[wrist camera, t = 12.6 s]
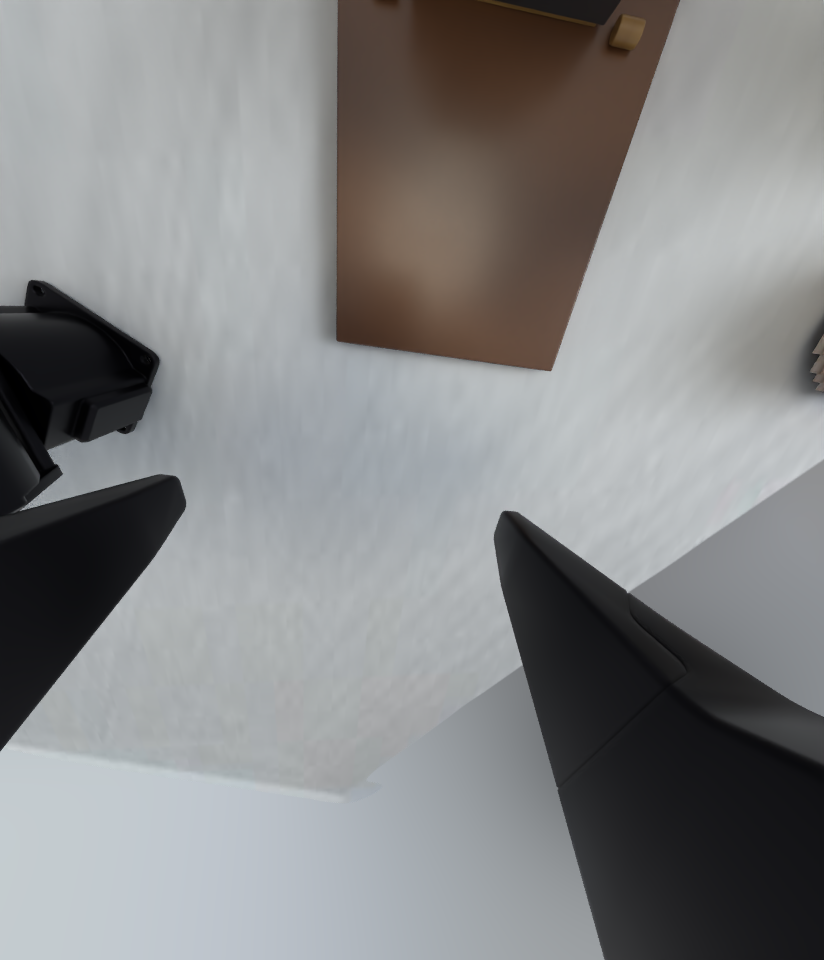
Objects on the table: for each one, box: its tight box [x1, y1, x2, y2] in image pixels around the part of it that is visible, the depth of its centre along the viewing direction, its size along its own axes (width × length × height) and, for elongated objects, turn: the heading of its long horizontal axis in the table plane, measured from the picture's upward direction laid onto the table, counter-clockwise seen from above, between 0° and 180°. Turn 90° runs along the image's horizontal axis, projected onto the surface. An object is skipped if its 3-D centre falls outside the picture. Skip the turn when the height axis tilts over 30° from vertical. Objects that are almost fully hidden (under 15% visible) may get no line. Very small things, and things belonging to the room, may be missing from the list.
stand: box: [336, 0, 680, 371], centre depth 14 cm, size 16×13×2 cm
